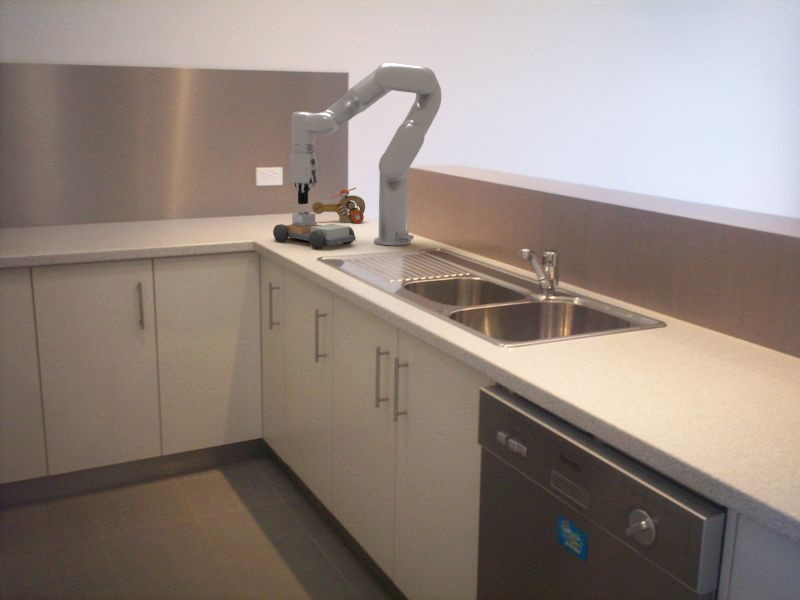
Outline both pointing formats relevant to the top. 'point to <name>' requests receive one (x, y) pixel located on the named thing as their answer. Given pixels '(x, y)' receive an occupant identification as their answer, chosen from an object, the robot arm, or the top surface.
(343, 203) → the toy helicopter
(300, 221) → the engine block
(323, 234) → the chassis
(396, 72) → the robot arm
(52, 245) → the top surface
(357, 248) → the top surface
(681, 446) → the top surface
